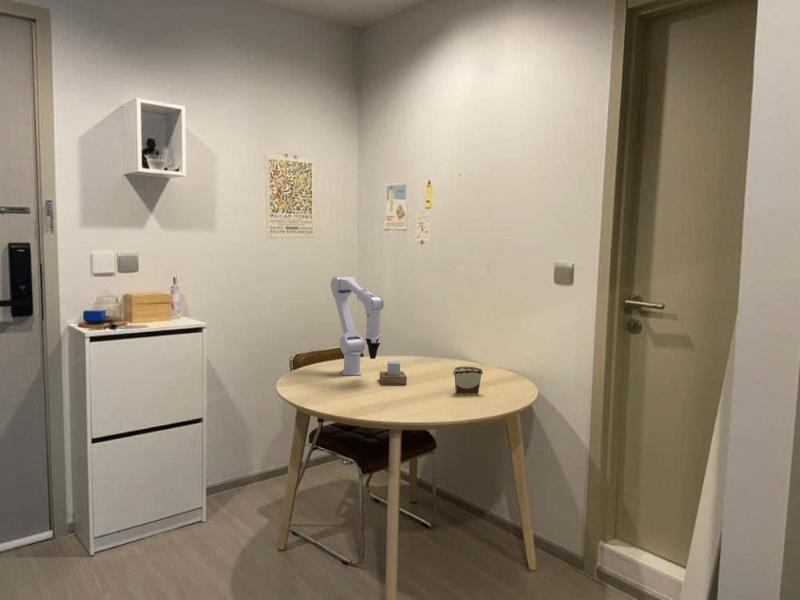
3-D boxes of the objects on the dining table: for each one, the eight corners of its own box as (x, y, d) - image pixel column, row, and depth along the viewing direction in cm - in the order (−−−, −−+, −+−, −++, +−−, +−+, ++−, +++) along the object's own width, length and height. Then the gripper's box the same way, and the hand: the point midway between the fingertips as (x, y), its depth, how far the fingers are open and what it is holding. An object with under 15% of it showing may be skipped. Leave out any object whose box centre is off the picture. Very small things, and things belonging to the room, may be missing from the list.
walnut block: (379, 380, 258) (379, 371, 257) (402, 380, 260) (402, 371, 259) (382, 386, 248) (383, 376, 248) (406, 386, 250) (406, 376, 249)
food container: (476, 389, 246) (477, 365, 245) (481, 393, 241) (483, 369, 239) (447, 390, 243) (449, 366, 242) (452, 394, 238) (454, 369, 236)
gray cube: (387, 372, 256) (387, 360, 255) (398, 372, 256) (399, 361, 256) (388, 375, 251) (388, 363, 250) (399, 375, 251) (400, 363, 251)
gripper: (383, 328, 245) (382, 360, 247) (381, 322, 260) (380, 353, 261) (366, 327, 245) (365, 360, 246) (365, 322, 259) (364, 353, 260)
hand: (372, 356), depth 254 cm, fingers open, 7 cm apart
